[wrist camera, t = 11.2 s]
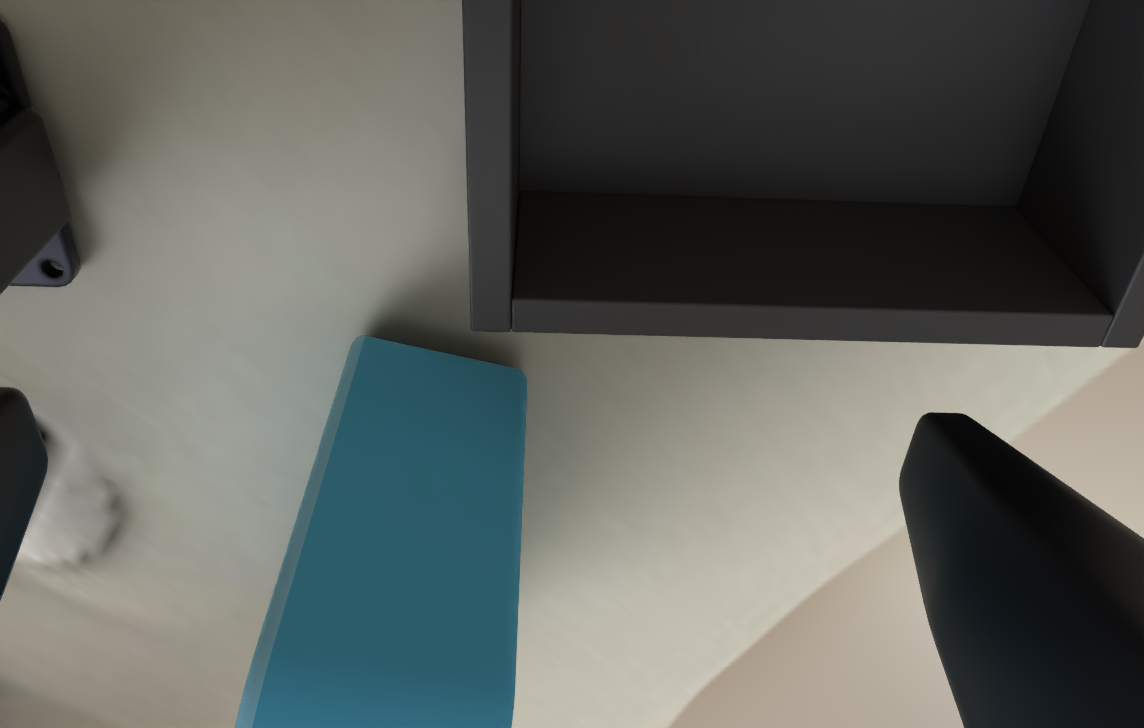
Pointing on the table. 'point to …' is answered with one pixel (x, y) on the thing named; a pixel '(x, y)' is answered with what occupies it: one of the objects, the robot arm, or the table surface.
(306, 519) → the data package
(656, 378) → the table surface
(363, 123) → the table surface
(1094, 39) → the black box
